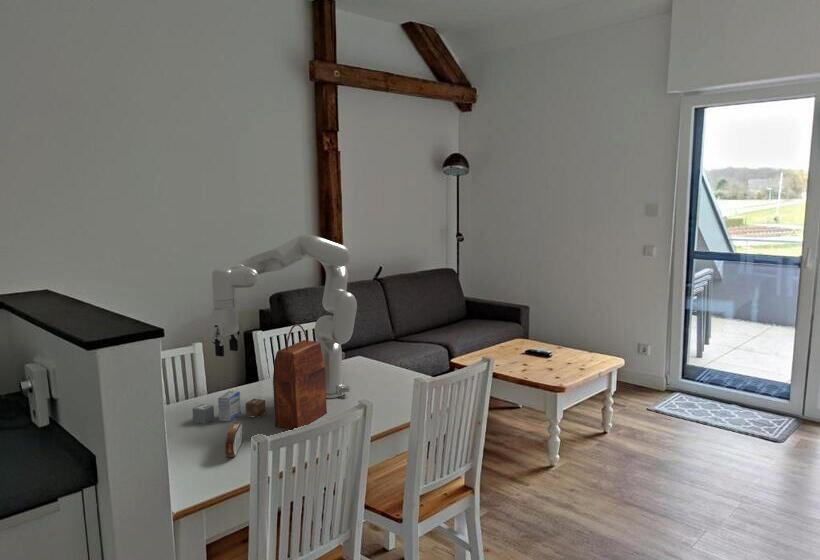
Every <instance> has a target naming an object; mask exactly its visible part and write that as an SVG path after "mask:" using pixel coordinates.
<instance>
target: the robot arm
mask: <svg viewBox="0 0 820 560" xmlns="http://www.w3.org/2000/svg"><path fill="white" fill-rule="evenodd" d="M307 258H309V259H314V260H316V261H318V262H320V263H321V265H322V267H323V268H324V271H325V284H324V290H323V297H322V307H323V308H324V310H325V311H327V312H328V313H331V314H333V315H322V316H320V317H318V318H317V320H316V322H315V325H314V335H315V340H316V341H317V342H320V345H321V350H322V355H323V360H324V365H325V380H326V399H334V398H340V397H342V396H344V395H346V393H351V392H352V388H351V385H346V384H345V381H344V380H343V360H342V359H343V358H342V357H343V354H342V345H343V344H346V343H348V342H349V341H350V339H351V337H352V336H353V333H354V328H355V320H356V317H357V310H358V304H357V303H358V302H357V299H356V297H355V295H354V294H352V293H351V292H350V291H347V289H348V281H349V280H348V279H349V275H348V269H347V266H346V265H348V264H349V263H350V260H351V253H350V250H349V249H348V248H347V247H346V246H345V245H343V244H340V243H337V242H334V241H331V240H329V239H326V238H324V237H321V236H317V235H314V234H301V235H298V236H296V237H294V238H292V239H290V240H288V241H286V242H284V243H283V244H280V245H278V246H276V247H274V248H272V249H269V250H266V251H264V252H261V253H257V254H255V255H252V256H250V257H247V258H245V259H243V260H242V261H239V262H237V263H235V264H234V265H232V266H231V267H230V268H229V267H220V268H214V269H213V270H212V272H211V283H212V285H211V287H212V305H213V308H212V311H211V314H210V315H211V316H210V335H209V339H210V340H211V343H213V345H214V349H215V350H214V351H215V356H216V357H221V358H222V357H224V356H225V348H224V347H225V345H224V344H223V343H224V340H225V338H227V337H229V338H230V339H229V340H228V341H229V343H228V344H229V350H230V351H232V352H233V351H235V352H237V351H239V341H238V340H239V338H240V337H239V336H240V334H241V333H240V332H241V329H242V326H241V324H239V314H238V307H237V301H236V300H237V299H236V298H237V296H236V289H251V288H254V287H255V286H256V285H257V284H258V283H259V280H260V275H263V274H266V273H273V272H279V271H284V270H285V269H288V268H289V267H291V266H293V265H296V263H299V262H300V261H303V260H304V259H307Z"/></svg>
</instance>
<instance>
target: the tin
mask: <svg viewBox="0 0 820 560" xmlns="http://www.w3.org/2000/svg"><path fill="white" fill-rule="evenodd" d="M243 426H244V422H243V421H242V420H241V421H240V420H232V423H231V425H230V426H229V428H228V429H227V433H226V438H225V447H224V453H225V457H226V458H233V457H234V458H235V457H236V456H237V455H238V452H239V450H240V449H241V446H242V442H243V437H244V435H243Z"/></svg>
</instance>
